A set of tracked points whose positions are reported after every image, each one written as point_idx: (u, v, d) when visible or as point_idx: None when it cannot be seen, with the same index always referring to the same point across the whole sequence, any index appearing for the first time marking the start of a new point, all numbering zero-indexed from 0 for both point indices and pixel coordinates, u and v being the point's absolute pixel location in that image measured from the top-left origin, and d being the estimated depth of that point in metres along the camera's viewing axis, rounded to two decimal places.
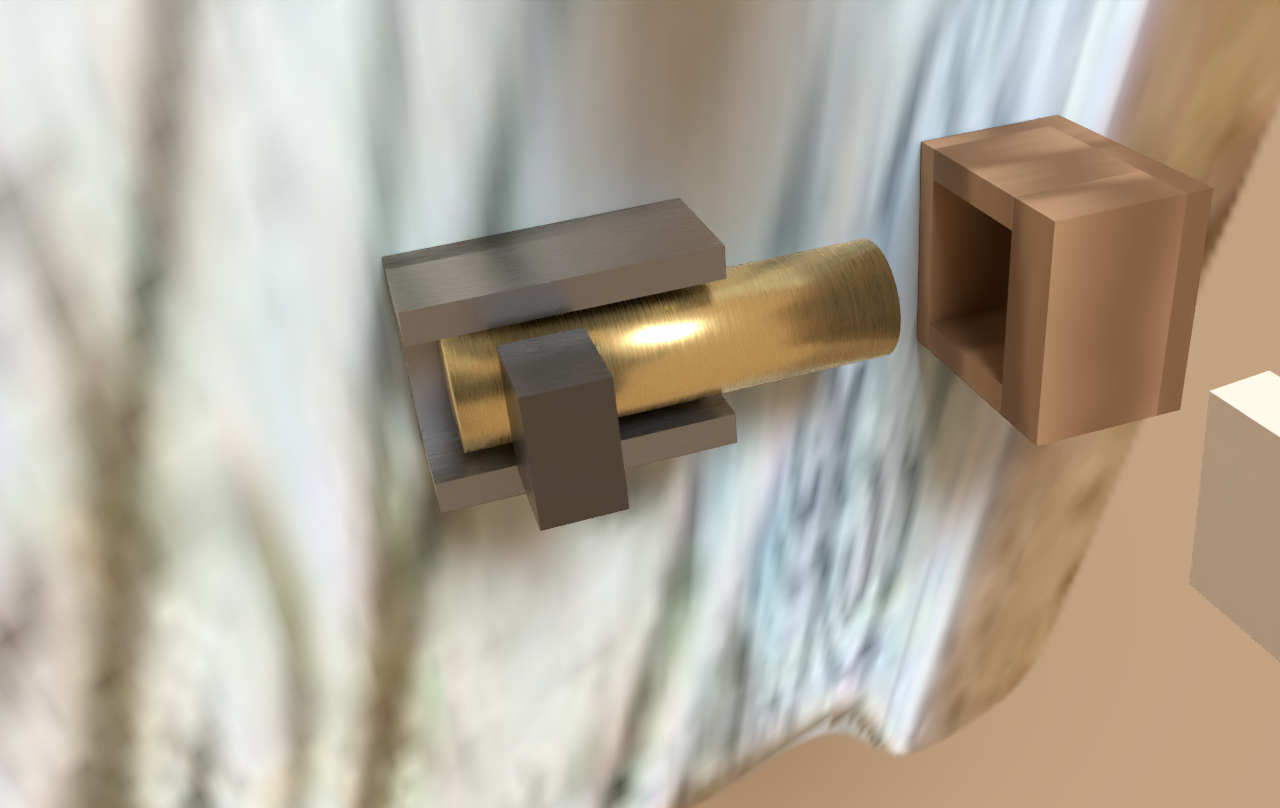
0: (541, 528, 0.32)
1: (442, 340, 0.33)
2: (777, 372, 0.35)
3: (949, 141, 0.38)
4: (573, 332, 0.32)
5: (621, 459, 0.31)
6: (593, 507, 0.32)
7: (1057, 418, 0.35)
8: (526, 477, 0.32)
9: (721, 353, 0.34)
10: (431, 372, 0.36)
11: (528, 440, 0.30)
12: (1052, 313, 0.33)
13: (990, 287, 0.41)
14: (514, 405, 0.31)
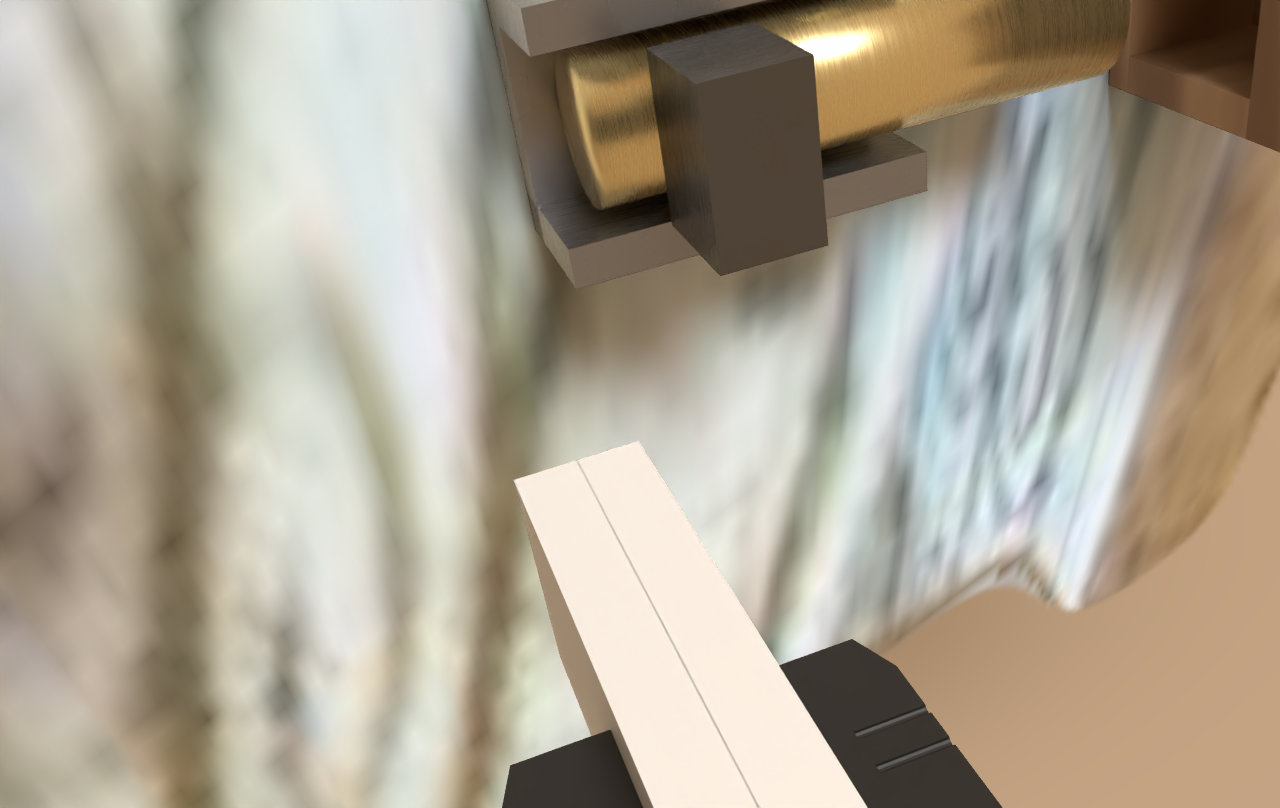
0: (721, 272, 0.25)
1: (571, 57, 0.26)
2: (981, 90, 0.28)
3: None
4: (742, 27, 0.25)
5: (820, 174, 0.24)
6: (785, 243, 0.25)
7: None
8: (695, 213, 0.25)
9: (917, 61, 0.27)
10: (547, 123, 0.29)
11: (708, 145, 0.23)
12: None
13: (1201, 8, 0.34)
14: (682, 109, 0.24)
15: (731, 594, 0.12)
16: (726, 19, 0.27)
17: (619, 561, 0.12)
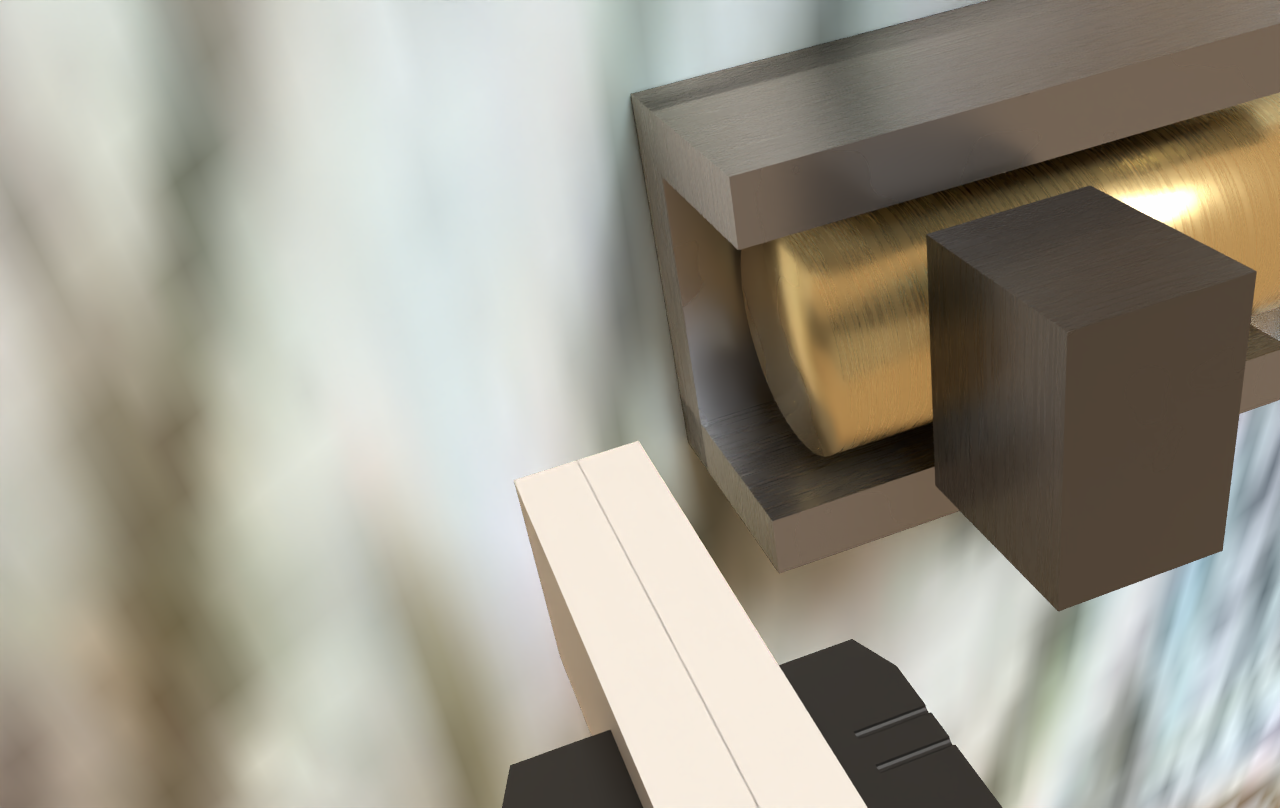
0: (1060, 606, 0.15)
1: (790, 236, 0.17)
2: None
3: None
4: (1077, 196, 0.16)
5: (1232, 451, 0.15)
6: (1161, 554, 0.15)
7: None
8: (1007, 501, 0.16)
9: None
10: (723, 310, 0.19)
11: (1071, 425, 0.14)
12: None
13: None
14: (1011, 352, 0.14)
15: (730, 595, 0.12)
16: (1022, 168, 0.17)
17: (619, 561, 0.12)
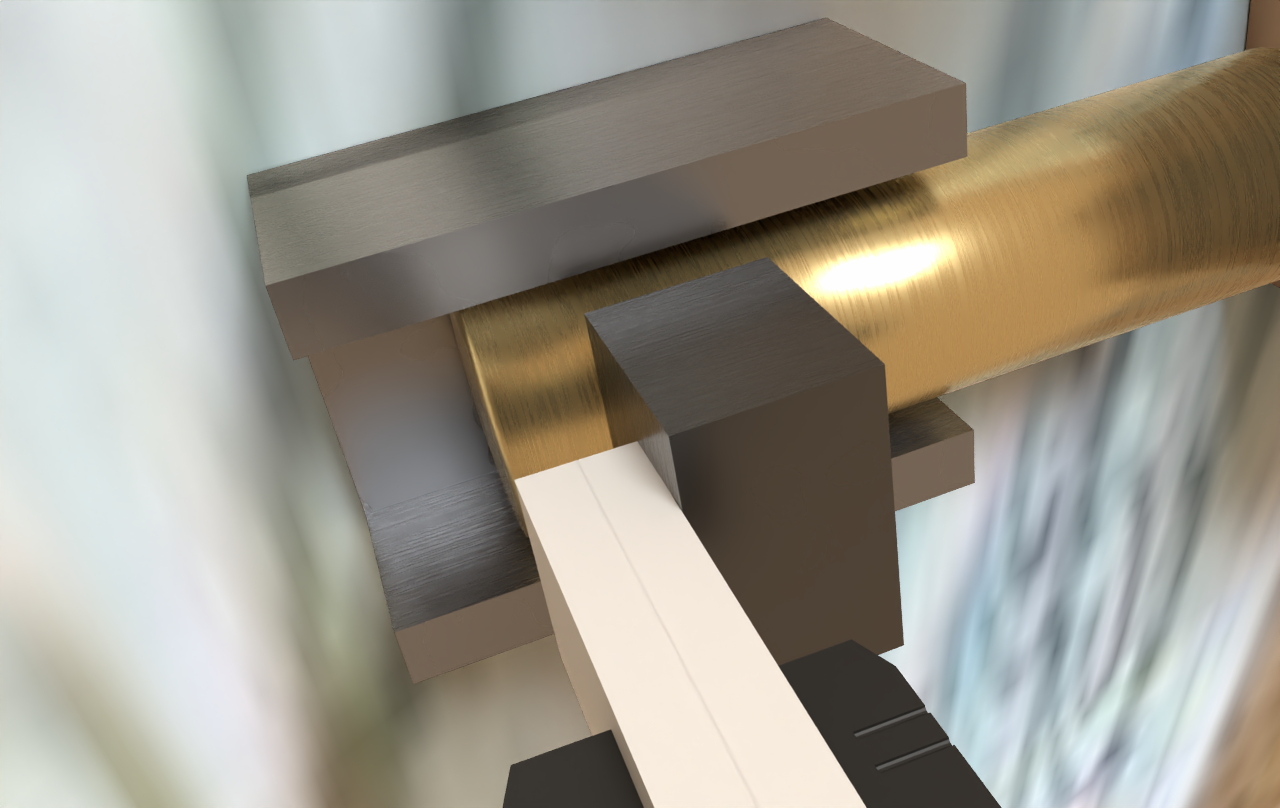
0: None
1: (463, 311, 0.16)
2: (1128, 321, 0.18)
3: None
4: (748, 270, 0.15)
5: (894, 546, 0.14)
6: None
7: None
8: None
9: (1034, 291, 0.17)
10: (371, 398, 0.18)
11: (694, 528, 0.13)
12: None
13: None
14: (646, 447, 0.13)
15: (730, 594, 0.12)
16: (721, 233, 0.16)
17: (619, 561, 0.12)
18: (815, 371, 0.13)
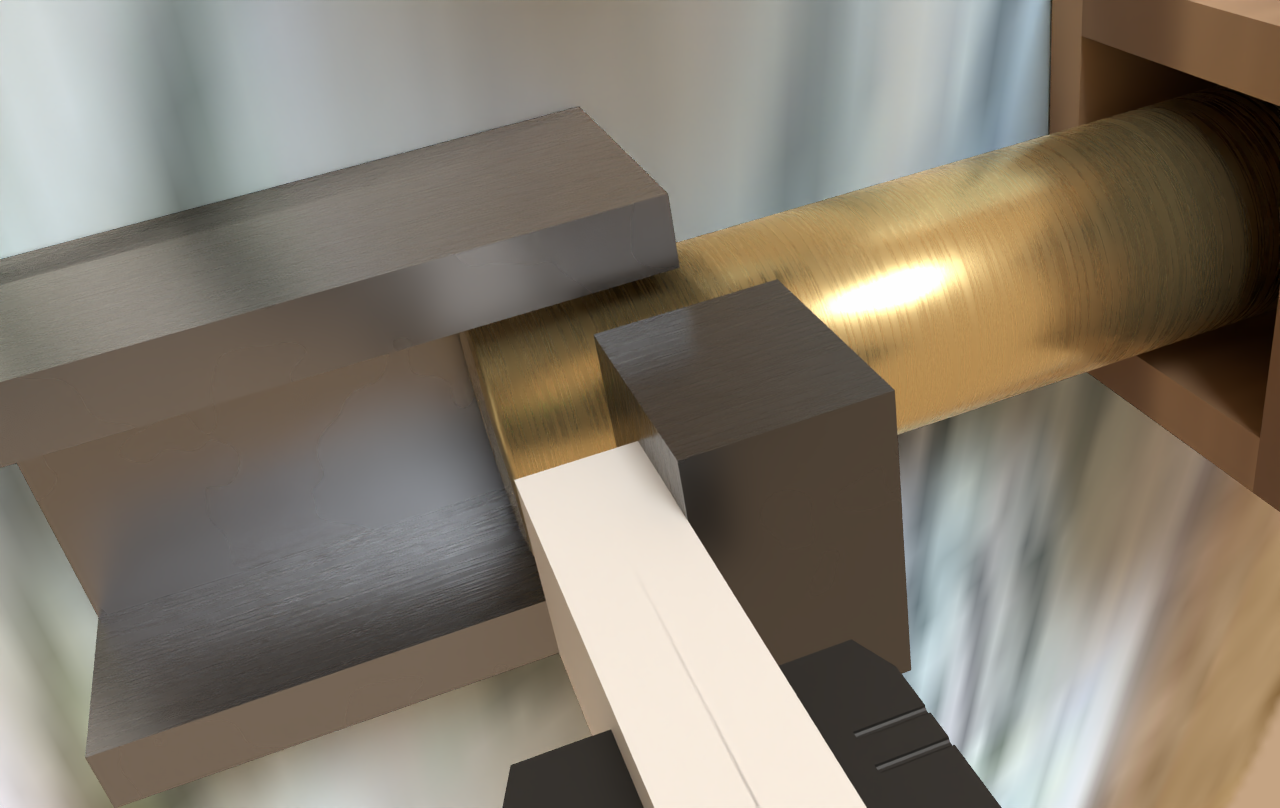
0: None
1: (472, 330, 0.16)
2: (1139, 344, 0.18)
3: None
4: (758, 292, 0.15)
5: (902, 570, 0.14)
6: None
7: None
8: None
9: (1044, 315, 0.17)
10: (92, 501, 0.18)
11: None
12: None
13: None
14: None
15: (729, 594, 0.12)
16: (731, 254, 0.16)
17: (619, 561, 0.12)
18: (825, 396, 0.13)
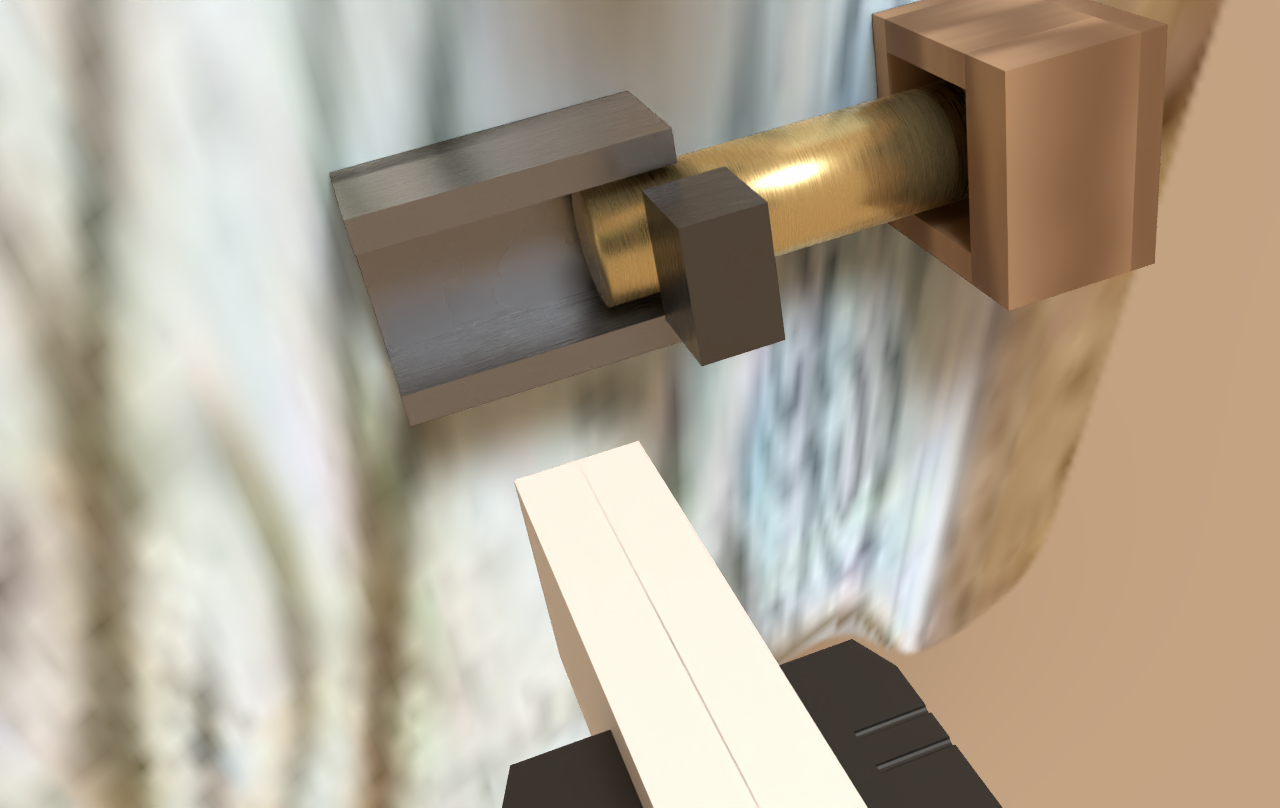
0: (702, 363, 0.32)
1: (584, 193, 0.34)
2: (910, 205, 0.36)
3: (900, 11, 0.37)
4: (715, 171, 0.33)
5: (777, 288, 0.32)
6: (751, 339, 0.32)
7: (1028, 280, 0.35)
8: (682, 317, 0.33)
9: (857, 187, 0.35)
10: (390, 287, 0.36)
11: (689, 272, 0.31)
12: (1011, 169, 0.33)
13: None
14: (669, 242, 0.31)
15: (730, 594, 0.12)
16: (705, 158, 0.34)
17: (619, 561, 0.12)
18: (739, 205, 0.31)
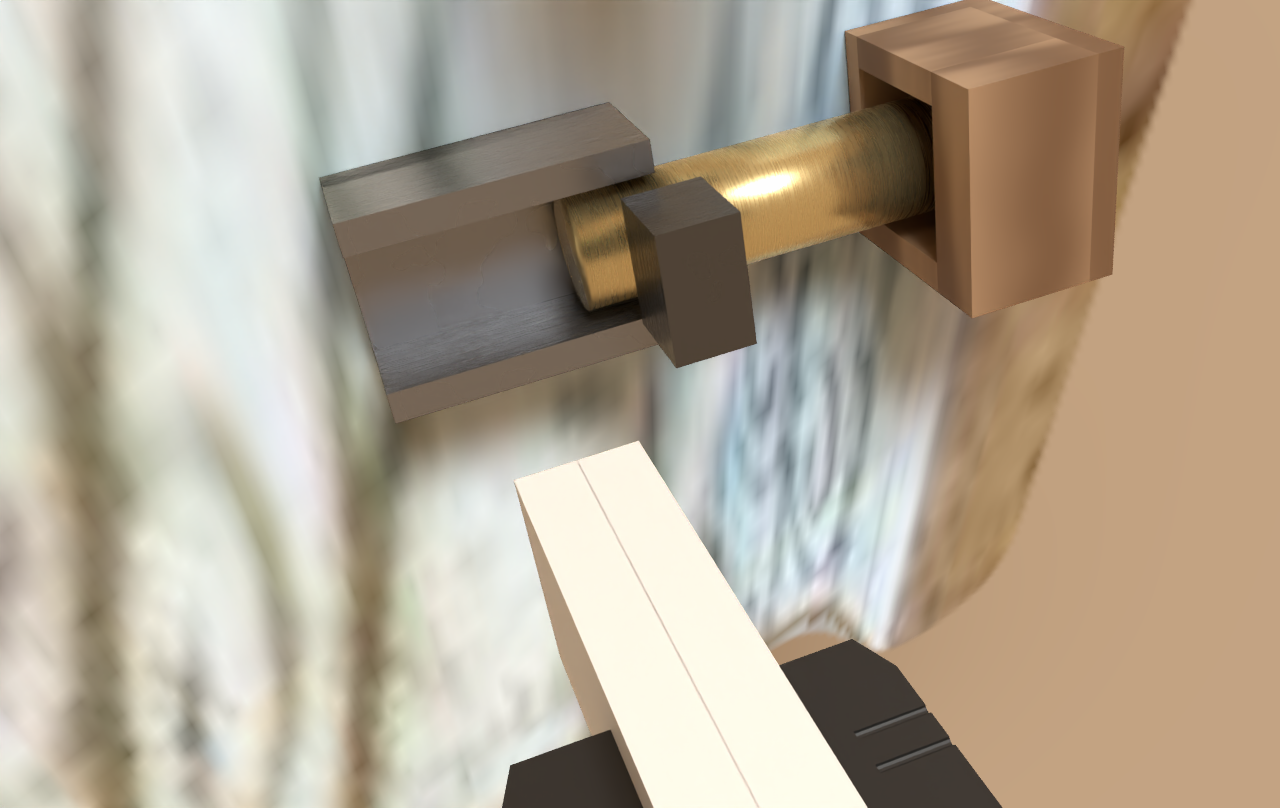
0: (677, 365, 0.34)
1: (565, 200, 0.35)
2: (879, 215, 0.37)
3: (872, 28, 0.39)
4: (692, 181, 0.34)
5: (749, 294, 0.33)
6: (724, 343, 0.34)
7: (990, 289, 0.36)
8: (658, 320, 0.34)
9: (827, 198, 0.36)
10: (377, 289, 0.37)
11: (664, 277, 0.32)
12: (974, 182, 0.34)
13: None
14: (646, 248, 0.33)
15: (730, 594, 0.12)
16: (682, 168, 0.36)
17: (619, 561, 0.12)
18: (713, 214, 0.32)
